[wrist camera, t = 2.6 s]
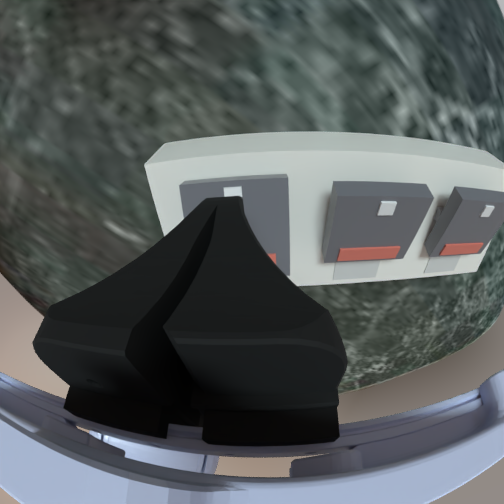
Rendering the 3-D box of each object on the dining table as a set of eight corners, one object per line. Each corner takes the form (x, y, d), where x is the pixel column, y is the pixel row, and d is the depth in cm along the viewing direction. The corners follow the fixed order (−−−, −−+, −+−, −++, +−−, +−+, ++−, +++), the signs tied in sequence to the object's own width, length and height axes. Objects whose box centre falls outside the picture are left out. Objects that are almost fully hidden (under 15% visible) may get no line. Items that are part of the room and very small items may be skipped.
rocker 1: (288, 265, 15) (290, 276, 14) (198, 269, 15) (193, 280, 14) (286, 173, 13) (288, 177, 12) (185, 180, 13) (178, 185, 12)
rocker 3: (474, 241, 15) (481, 255, 14) (423, 243, 15) (429, 258, 15) (506, 191, 11) (515, 205, 10) (454, 185, 11) (463, 201, 11)
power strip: (457, 244, 20) (478, 275, 16) (191, 255, 21) (180, 294, 18) (486, 151, 14) (519, 175, 11) (164, 143, 15) (140, 168, 12)
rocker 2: (398, 245, 15) (403, 260, 15) (321, 248, 16) (324, 264, 15) (425, 183, 11) (435, 199, 11) (332, 180, 12) (338, 198, 11)
